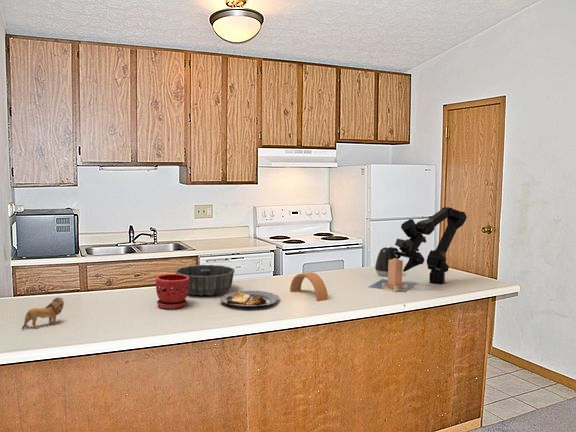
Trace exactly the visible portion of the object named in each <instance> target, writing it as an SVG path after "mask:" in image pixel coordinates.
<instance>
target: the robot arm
mask: <svg viewBox="0 0 576 432" xmlns="http://www.w3.org/2000/svg"><path fill="white" fill-rule="evenodd" d="M445 220H446V223H447V226H446V228H445V230H444V232H443V234H442V236H441V238H440V240H439V242H438V244H437V247H436V248H435V249H434V250H433V249H432V250H430V251H429V253H428V255H427V257H426V266H427V270H430V272H429V284H435V285H436V284H437V285H443V284H445V283H446V273H447V272H448V271H449V268H450V266H449V265H448V264H447V263H446V262H447V255H446V254H447V251H448V249H449V247H450V245H451V243H452V241H453V238H454V237H455V234H456V233H457V230H458V229H459V228H460V227H462V226H464V224H465V222H466V221H467V214H466V212H465V211H461V210H460V211H459V210H458V209H455V208H452V207H449V206H444V207H442V208H441V209H440V210H438V211H437V212H436V213H435V214H433V215H432V216H430V217H429V218H426V219H422V220H419V221H418V222H416V223H415V221H414V219H413V218H412V219H411V218H409V219H408V220H406V221H404V222H403V223H402V224H401V226H400V228H401V230H402V231H403V233H404V234H405V235H406V237H408V238H409V239H402V238H396V240H395V242H394V246H396V247H393V246H389V247H388V248H389V249H388V250H387V251H388V252H389V254H390V260H391V259H393V258H397V259H398V260H400V258H401V257H404V258H408V261H407V263H406V264H405V266H404V268H403V269H402V272H404V273H405V272H407V271H409V270H410V269H412V268H413V269H414V268H415V267H417V266H420V265H423V264H424V262H425V257H424V256H423V255H422V253H421V252H419V251H420V249H419V247H420V246H421V245H422V243H427V239H426V238H427V237H426V236H429V235H431V234H432V233H433V232H434V231H435V229H436V228H435V227H436V226H438V225H439V224H441V223H442V222H443V221H445ZM424 235H426V236H424ZM397 247H398V248H397ZM399 250H400V251H399Z"/></svg>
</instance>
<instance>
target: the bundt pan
mask: <svg viewBox="0 0 576 432" xmlns="http://www.w3.org/2000/svg"><path fill="white" fill-rule="evenodd" d="M174 272H175V273H174V274H180V275H186V276H188V277H189V290H188V294H187V295H192V296H198V295H199V296H200V297H202V296H203V295H205V296H211V295H214V296H217V295H219V294H223V293H225V292H227V291H229V290H230V289H231V288H232V285H233V281H234V280H233V279H234V274H235V273H236V272H235V268H234V267H230V266H225V265H220V264H219V265H217V264H216V265H214V264H207V265H206V264H195V265H188V266H182V267H179V268H177V269H175V271H174ZM183 288H184V287H183Z"/></svg>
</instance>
